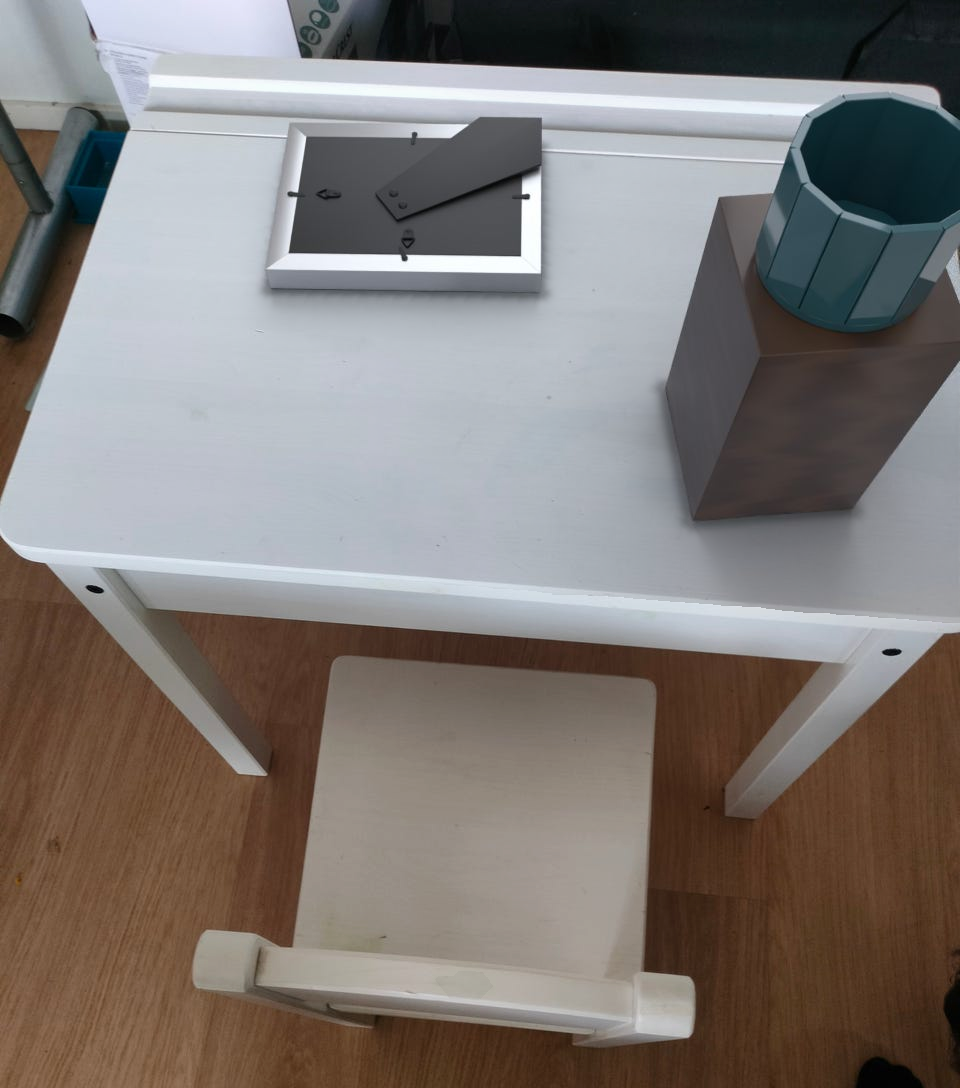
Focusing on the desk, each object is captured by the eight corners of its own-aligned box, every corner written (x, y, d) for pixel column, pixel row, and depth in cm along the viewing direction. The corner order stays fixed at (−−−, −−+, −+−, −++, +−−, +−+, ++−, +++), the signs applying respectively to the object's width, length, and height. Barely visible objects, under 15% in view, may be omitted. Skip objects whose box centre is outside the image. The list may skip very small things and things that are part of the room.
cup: (901, 197, 52) (957, 86, 46) (949, 326, 48) (1018, 224, 42) (739, 208, 52) (774, 98, 46) (775, 339, 48) (818, 238, 42)
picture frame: (540, 145, 79) (294, 142, 80) (541, 117, 77) (287, 114, 77) (540, 292, 73) (270, 288, 73) (541, 266, 70) (262, 262, 71)
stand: (814, 376, 69) (913, 182, 53) (853, 508, 64) (975, 340, 48) (664, 387, 69) (718, 196, 52) (692, 521, 64) (760, 356, 48)
